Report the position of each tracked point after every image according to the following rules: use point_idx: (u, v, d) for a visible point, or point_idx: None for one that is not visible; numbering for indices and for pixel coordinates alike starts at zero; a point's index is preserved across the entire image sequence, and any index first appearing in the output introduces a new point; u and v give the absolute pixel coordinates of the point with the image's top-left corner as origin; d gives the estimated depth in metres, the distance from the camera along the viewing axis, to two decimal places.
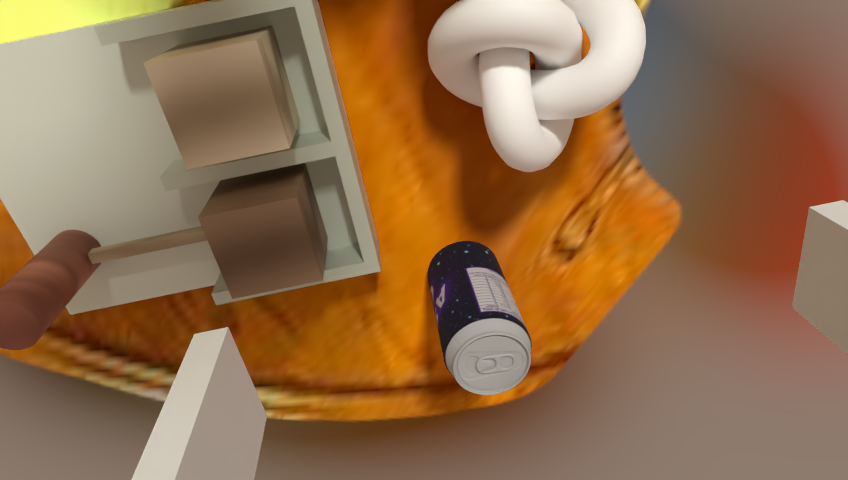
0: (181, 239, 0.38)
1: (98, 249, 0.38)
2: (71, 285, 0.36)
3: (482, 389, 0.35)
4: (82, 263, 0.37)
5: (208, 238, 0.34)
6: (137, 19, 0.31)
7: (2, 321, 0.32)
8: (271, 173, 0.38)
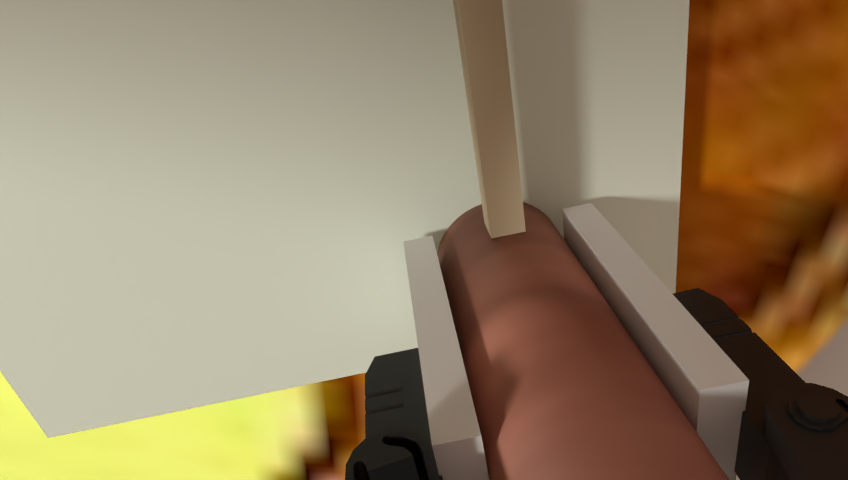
0: None
1: (484, 206, 0.13)
2: (561, 308, 0.10)
3: None
4: (507, 257, 0.12)
5: None
6: None
7: None
8: None
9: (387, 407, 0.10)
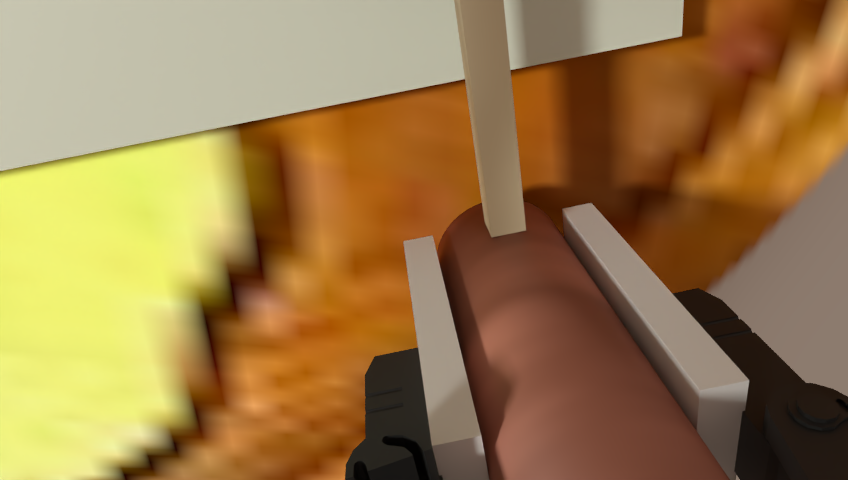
0: None
1: (484, 205, 0.13)
2: (562, 308, 0.10)
3: None
4: (508, 256, 0.12)
5: None
6: None
7: None
8: None
9: (387, 407, 0.10)
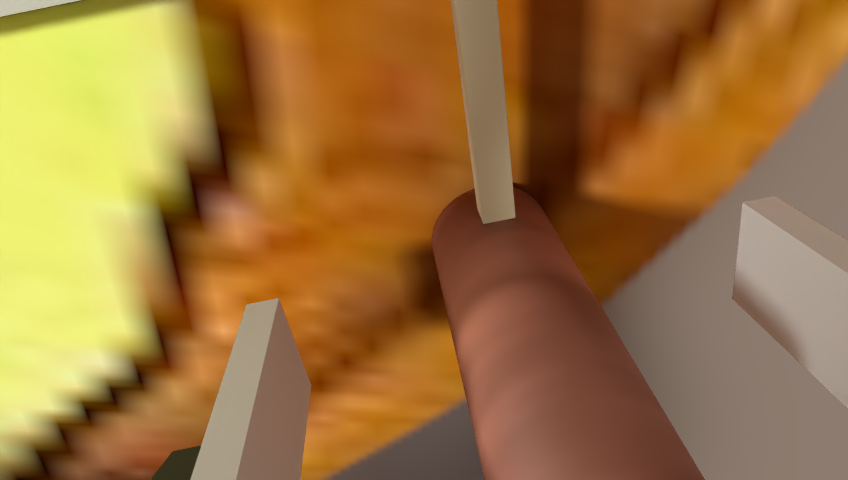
0: None
1: (477, 194, 0.14)
2: (546, 293, 0.11)
3: None
4: (498, 243, 0.13)
5: None
6: None
7: None
8: None
9: None
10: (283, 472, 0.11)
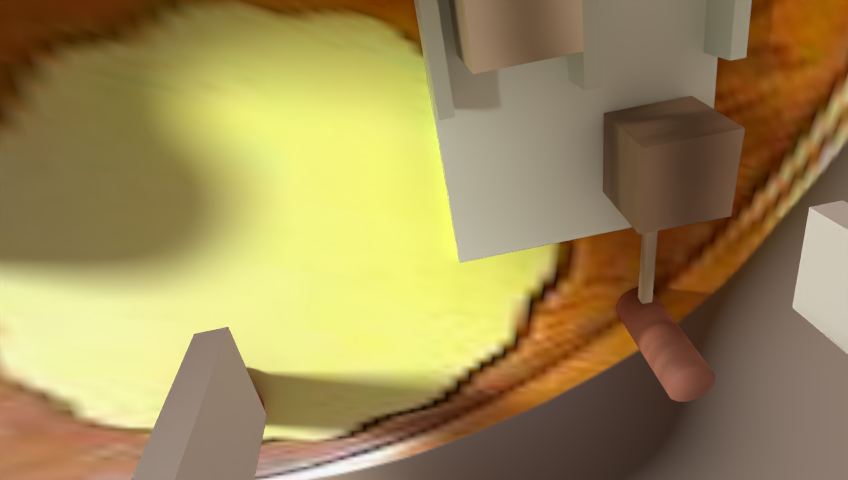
0: (651, 235, 0.41)
1: (640, 294, 0.44)
2: (668, 327, 0.42)
3: None
4: (649, 311, 0.43)
5: (661, 228, 0.35)
6: (433, 80, 0.32)
7: (685, 386, 0.39)
8: (607, 148, 0.38)
9: None
10: None
